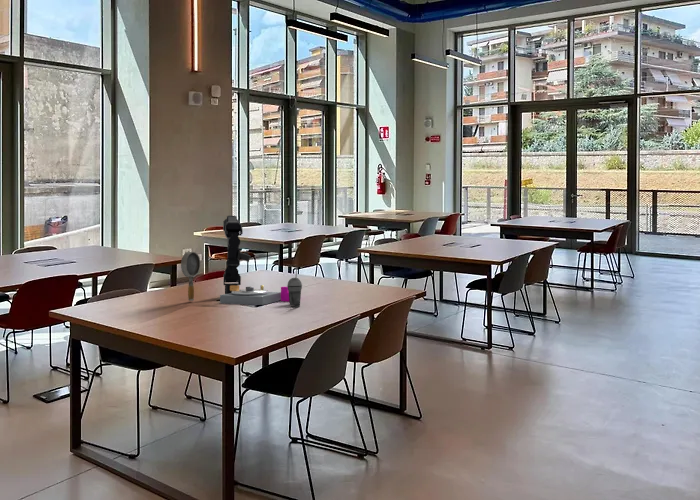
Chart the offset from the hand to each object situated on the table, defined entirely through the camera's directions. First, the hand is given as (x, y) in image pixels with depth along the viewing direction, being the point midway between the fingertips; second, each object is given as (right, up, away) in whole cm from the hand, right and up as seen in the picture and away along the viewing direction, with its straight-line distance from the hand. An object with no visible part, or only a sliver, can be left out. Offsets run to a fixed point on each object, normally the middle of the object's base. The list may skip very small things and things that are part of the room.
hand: (233, 278), depth 321 cm
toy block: (+28, -12, +14) cm, 34 cm away
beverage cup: (+31, -15, -7) cm, 35 cm away
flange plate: (+7, -8, +4) cm, 11 cm away
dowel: (+12, -8, +13) cm, 20 cm away
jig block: (+8, -12, +5) cm, 15 cm away
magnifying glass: (-23, -12, +9) cm, 28 cm away
